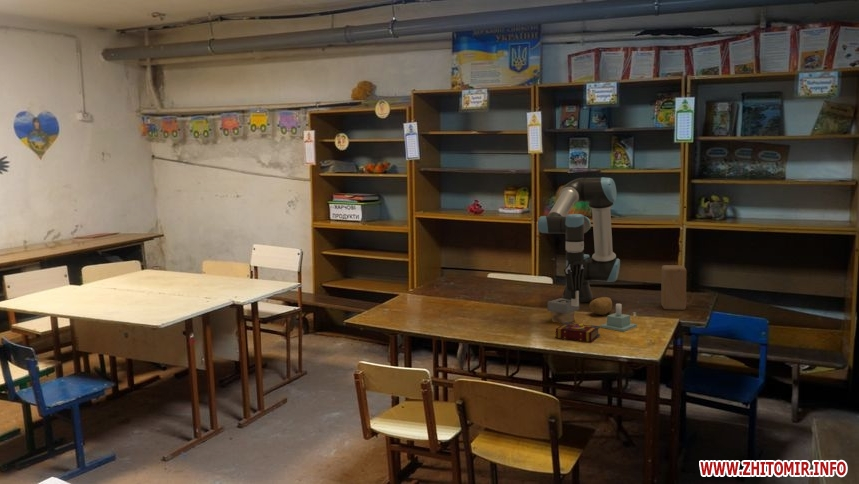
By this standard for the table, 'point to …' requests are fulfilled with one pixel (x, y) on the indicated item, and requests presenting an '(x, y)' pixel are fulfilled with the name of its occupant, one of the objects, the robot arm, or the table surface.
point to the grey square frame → (561, 306)
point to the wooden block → (673, 287)
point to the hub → (618, 321)
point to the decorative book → (577, 332)
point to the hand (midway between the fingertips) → (575, 305)
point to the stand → (562, 316)
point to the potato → (601, 305)
